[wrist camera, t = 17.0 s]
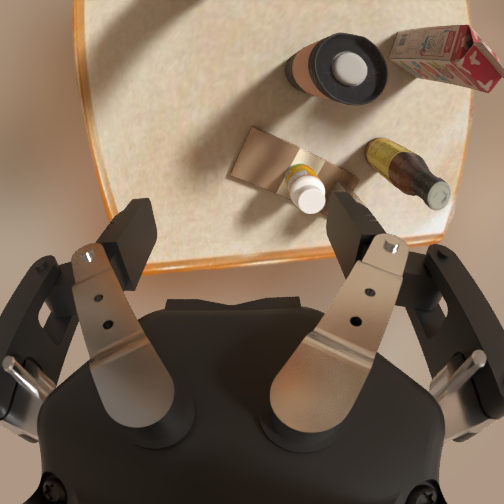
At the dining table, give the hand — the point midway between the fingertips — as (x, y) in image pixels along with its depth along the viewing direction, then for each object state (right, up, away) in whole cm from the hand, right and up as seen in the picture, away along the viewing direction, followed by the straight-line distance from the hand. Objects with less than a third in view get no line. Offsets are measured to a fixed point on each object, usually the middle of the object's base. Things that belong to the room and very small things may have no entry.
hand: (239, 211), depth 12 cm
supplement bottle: (+9, +11, +33) cm, 36 cm away
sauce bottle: (+23, +17, +31) cm, 42 cm away
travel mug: (+9, +27, +23) cm, 37 cm away
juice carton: (+28, +33, +19) cm, 47 cm away
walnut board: (+8, +12, +34) cm, 37 cm away
